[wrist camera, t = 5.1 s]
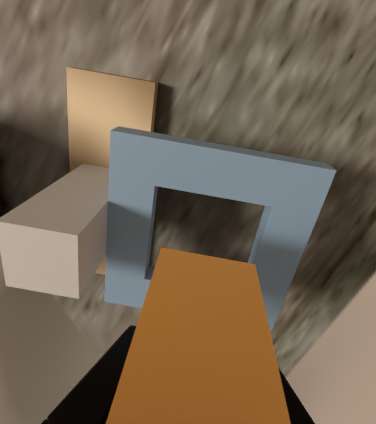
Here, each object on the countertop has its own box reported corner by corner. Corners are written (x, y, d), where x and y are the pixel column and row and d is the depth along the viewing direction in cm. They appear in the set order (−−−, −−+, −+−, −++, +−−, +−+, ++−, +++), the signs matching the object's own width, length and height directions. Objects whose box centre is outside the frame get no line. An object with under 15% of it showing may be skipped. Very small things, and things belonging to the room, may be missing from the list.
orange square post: (233, 331, 12) (262, 699, 5) (151, 316, 12) (61, 661, 5) (255, 264, 11) (343, 658, 3) (161, 247, 11) (49, 602, 3)
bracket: (259, 281, 21) (284, 389, 14) (83, 249, 21) (14, 339, 14) (305, 147, 16) (377, 200, 9) (82, 107, 16) (-20, 130, 9)
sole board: (139, 272, 23) (136, 280, 22) (77, 261, 23) (72, 268, 22) (158, 82, 16) (155, 82, 16) (74, 67, 17) (66, 67, 16)
